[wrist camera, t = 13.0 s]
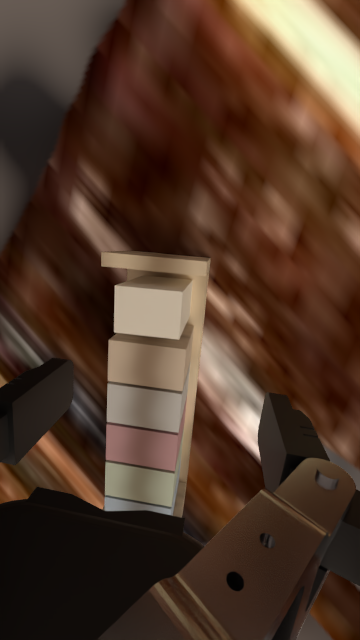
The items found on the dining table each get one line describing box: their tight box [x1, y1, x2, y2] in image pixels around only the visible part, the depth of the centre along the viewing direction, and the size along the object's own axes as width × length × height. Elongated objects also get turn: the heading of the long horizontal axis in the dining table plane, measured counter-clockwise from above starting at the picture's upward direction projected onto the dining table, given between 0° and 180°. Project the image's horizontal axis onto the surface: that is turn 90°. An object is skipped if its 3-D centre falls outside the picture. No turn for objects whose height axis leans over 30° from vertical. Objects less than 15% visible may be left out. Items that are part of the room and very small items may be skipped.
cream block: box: [114, 276, 193, 340], centre depth 29 cm, size 4×6×9 cm
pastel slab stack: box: [101, 251, 211, 518], centre depth 32 cm, size 9×30×10 cm, turn 175°
